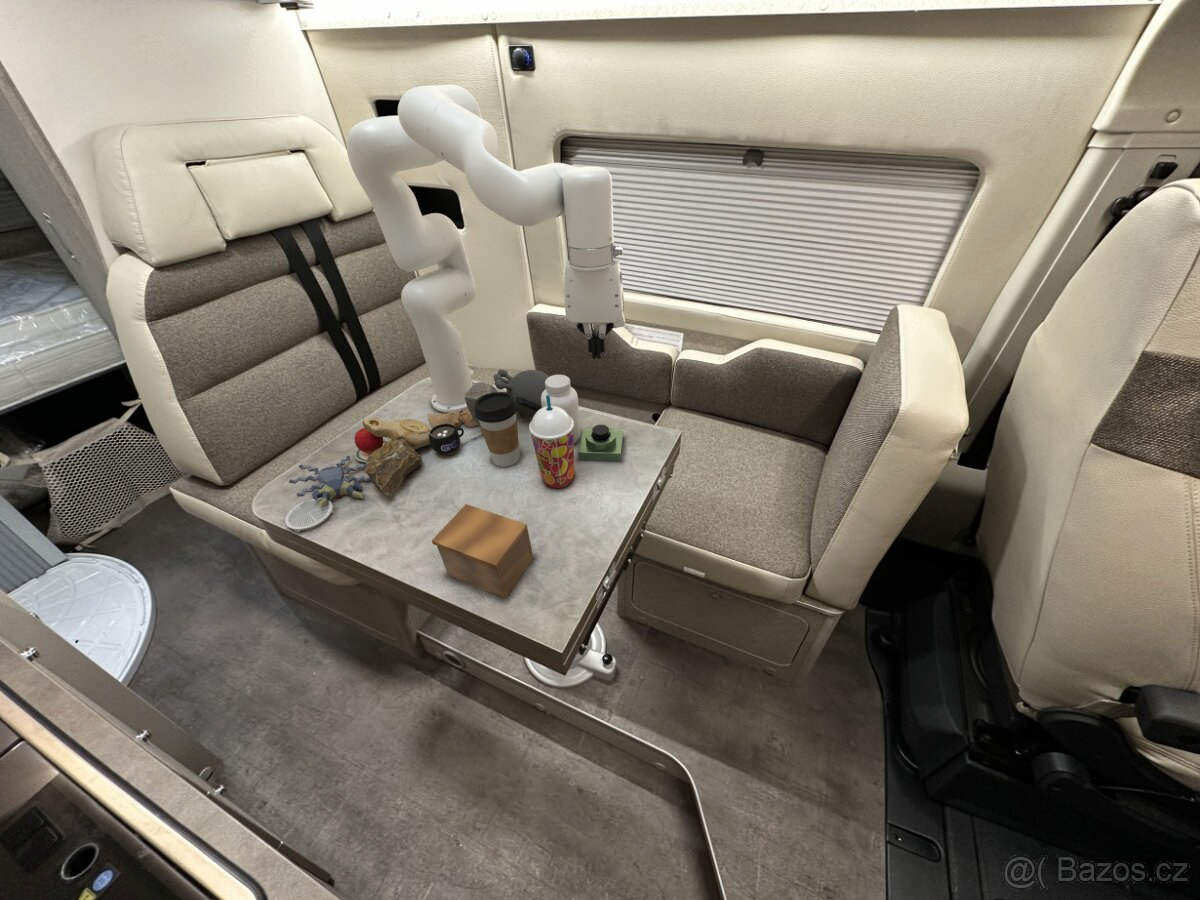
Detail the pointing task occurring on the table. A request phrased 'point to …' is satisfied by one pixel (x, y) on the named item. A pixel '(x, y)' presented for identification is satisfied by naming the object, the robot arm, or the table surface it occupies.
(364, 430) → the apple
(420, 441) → the oil lamp
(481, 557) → the lid
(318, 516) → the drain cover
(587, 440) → the button housing
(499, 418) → the coffee cup
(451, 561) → the box
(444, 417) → the figurine
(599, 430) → the button
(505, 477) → the table surface
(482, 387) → the stone
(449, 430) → the mug
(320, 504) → the toy
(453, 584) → the table surface
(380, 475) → the rock
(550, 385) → the pill bottle
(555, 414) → the smoothie
